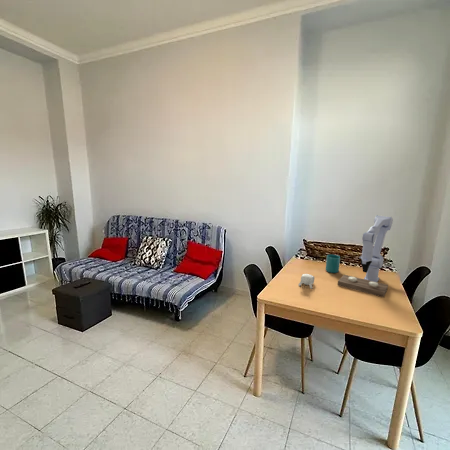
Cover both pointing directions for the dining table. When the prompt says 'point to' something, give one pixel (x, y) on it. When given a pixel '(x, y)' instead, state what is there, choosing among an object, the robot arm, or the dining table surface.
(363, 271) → the robot arm
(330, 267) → the cup
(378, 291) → the console
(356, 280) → the button
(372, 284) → the button
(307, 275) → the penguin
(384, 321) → the dining table surface
